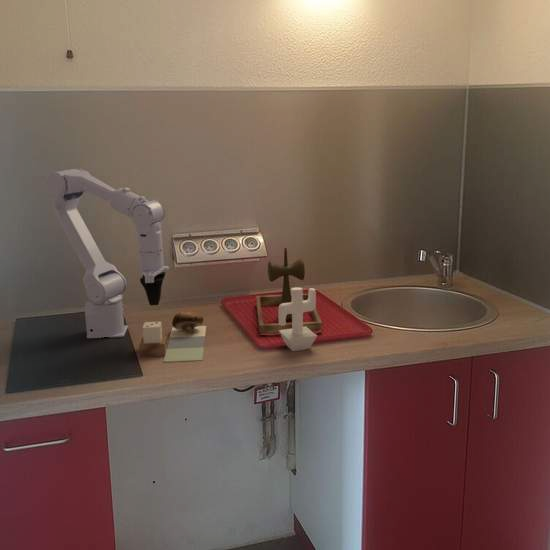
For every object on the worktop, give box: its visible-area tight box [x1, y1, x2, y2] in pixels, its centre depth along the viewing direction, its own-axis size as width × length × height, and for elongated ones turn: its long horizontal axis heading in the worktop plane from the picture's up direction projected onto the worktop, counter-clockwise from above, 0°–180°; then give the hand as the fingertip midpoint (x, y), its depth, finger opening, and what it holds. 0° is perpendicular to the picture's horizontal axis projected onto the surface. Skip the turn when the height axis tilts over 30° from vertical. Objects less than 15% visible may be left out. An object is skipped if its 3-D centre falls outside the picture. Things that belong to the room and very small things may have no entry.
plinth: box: [138, 335, 168, 358], centre depth 167 cm, size 6×6×3 cm
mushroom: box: [171, 310, 204, 333], centre depth 179 cm, size 8×8×6 cm
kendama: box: [267, 247, 306, 321], centre depth 187 cm, size 6×10×20 cm, turn 100°
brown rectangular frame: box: [255, 293, 323, 335], centre depth 189 cm, size 16×26×3 cm, turn 3°
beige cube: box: [142, 321, 163, 343], centre depth 166 cm, size 4×4×4 cm
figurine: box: [277, 287, 318, 352], centre depth 166 cm, size 7×9×15 cm
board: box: [163, 325, 207, 363], centre depth 172 cm, size 9×24×1 cm, turn 3°
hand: (154, 303), depth 172 cm, fingers open, 2 cm apart
